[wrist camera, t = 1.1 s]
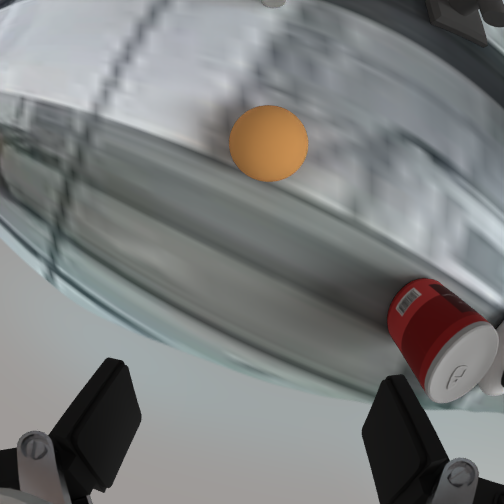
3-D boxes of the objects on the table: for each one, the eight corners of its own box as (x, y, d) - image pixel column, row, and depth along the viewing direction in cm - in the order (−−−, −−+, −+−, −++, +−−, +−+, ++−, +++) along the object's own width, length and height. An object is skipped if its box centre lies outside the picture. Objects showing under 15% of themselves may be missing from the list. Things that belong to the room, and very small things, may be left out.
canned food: (379, 344, 28) (415, 412, 18) (390, 277, 26) (444, 333, 16) (435, 336, 28) (480, 392, 17) (448, 273, 26) (510, 318, 15)
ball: (304, 116, 23) (314, 100, 17) (301, 182, 24) (311, 186, 19) (235, 112, 23) (225, 95, 17) (232, 179, 25) (221, 181, 19)
